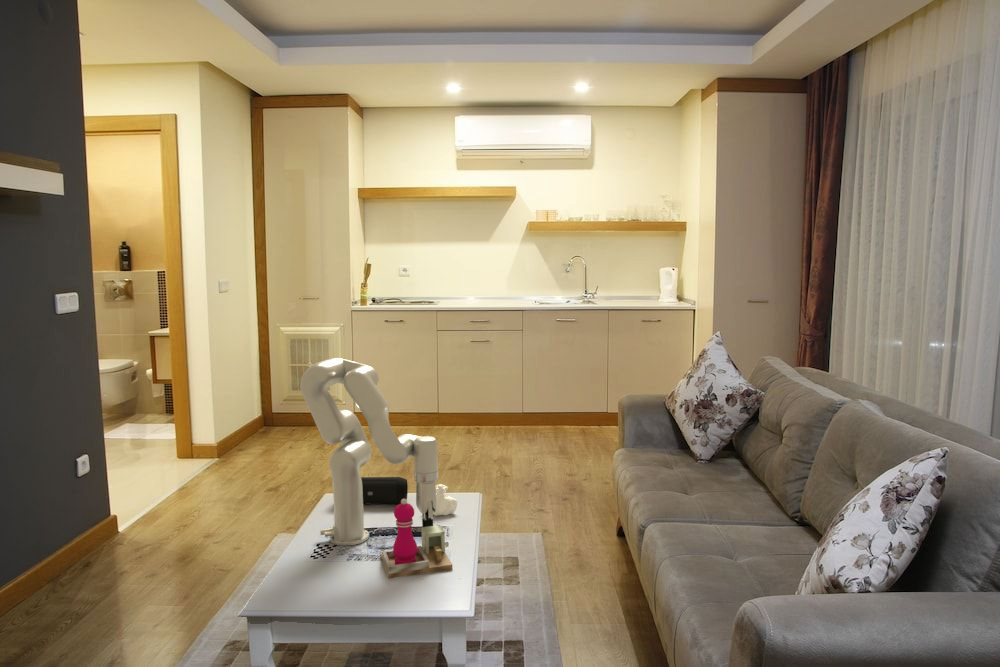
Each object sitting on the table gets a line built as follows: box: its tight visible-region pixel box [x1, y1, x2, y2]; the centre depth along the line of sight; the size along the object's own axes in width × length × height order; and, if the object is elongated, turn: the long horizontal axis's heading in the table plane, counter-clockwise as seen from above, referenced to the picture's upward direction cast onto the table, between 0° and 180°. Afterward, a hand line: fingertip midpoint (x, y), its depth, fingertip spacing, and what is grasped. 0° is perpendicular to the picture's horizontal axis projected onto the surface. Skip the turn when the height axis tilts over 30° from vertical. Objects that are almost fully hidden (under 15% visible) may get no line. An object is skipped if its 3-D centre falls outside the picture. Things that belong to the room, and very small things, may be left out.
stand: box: [379, 545, 453, 580], centre depth 217 cm, size 19×16×4 cm
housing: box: [421, 524, 446, 554], centre depth 223 cm, size 6×6×6 cm
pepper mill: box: [392, 499, 418, 565], centre depth 212 cm, size 7×7×20 cm
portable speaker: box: [361, 476, 409, 505], centre depth 270 cm, size 26×10×10 cm, turn 90°
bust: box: [433, 483, 458, 517], centre depth 259 cm, size 12×8×11 cm
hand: (427, 530), depth 230 cm, fingers closed
